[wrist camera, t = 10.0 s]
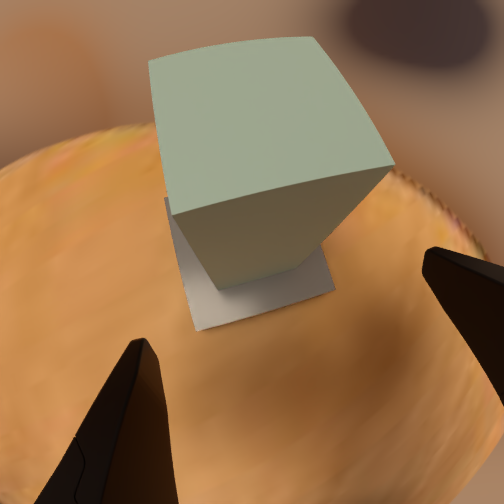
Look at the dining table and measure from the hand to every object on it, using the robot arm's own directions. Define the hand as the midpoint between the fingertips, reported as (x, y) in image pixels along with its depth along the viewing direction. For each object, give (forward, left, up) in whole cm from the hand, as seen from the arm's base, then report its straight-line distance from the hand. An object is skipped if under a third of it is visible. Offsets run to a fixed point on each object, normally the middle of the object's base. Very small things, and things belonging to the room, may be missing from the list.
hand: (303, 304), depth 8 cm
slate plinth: (+4, -3, -13) cm, 13 cm away
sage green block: (+4, -3, -10) cm, 11 cm away
